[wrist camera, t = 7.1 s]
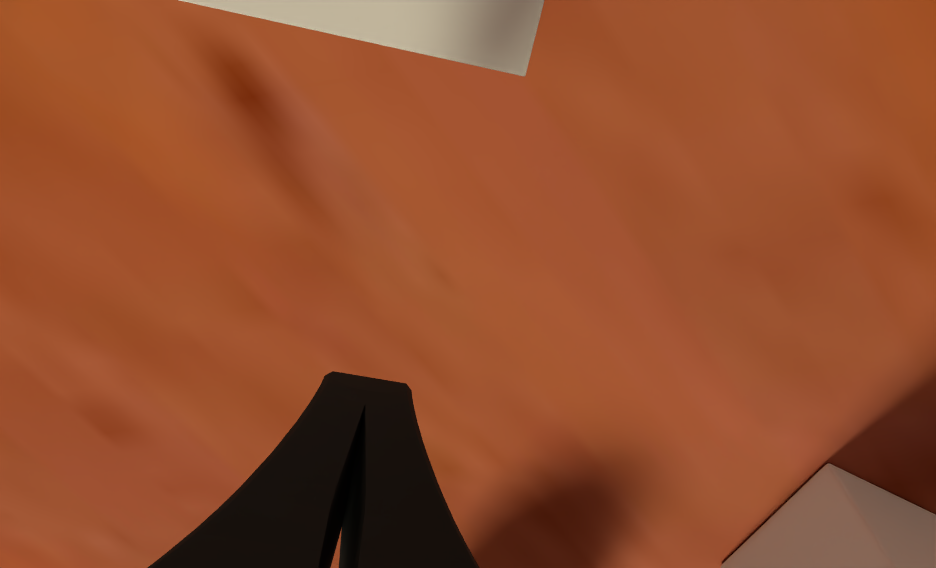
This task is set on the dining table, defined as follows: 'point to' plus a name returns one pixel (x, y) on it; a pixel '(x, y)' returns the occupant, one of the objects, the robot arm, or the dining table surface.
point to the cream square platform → (415, 25)
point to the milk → (841, 529)
